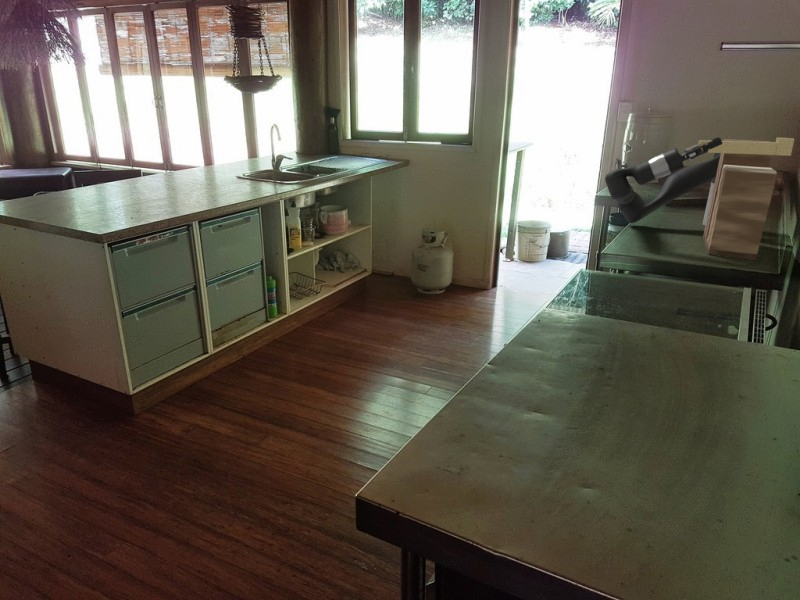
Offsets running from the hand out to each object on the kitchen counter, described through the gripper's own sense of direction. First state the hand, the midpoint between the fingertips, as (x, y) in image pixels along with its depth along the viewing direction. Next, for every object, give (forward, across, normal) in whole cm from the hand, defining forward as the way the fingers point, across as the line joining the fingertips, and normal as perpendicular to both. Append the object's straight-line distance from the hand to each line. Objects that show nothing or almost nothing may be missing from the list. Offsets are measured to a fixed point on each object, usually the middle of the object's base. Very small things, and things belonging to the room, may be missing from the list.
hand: (720, 140), depth 186 cm
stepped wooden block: (-10, -7, -37) cm, 39 cm away
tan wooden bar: (+4, 0, -7) cm, 8 cm away
